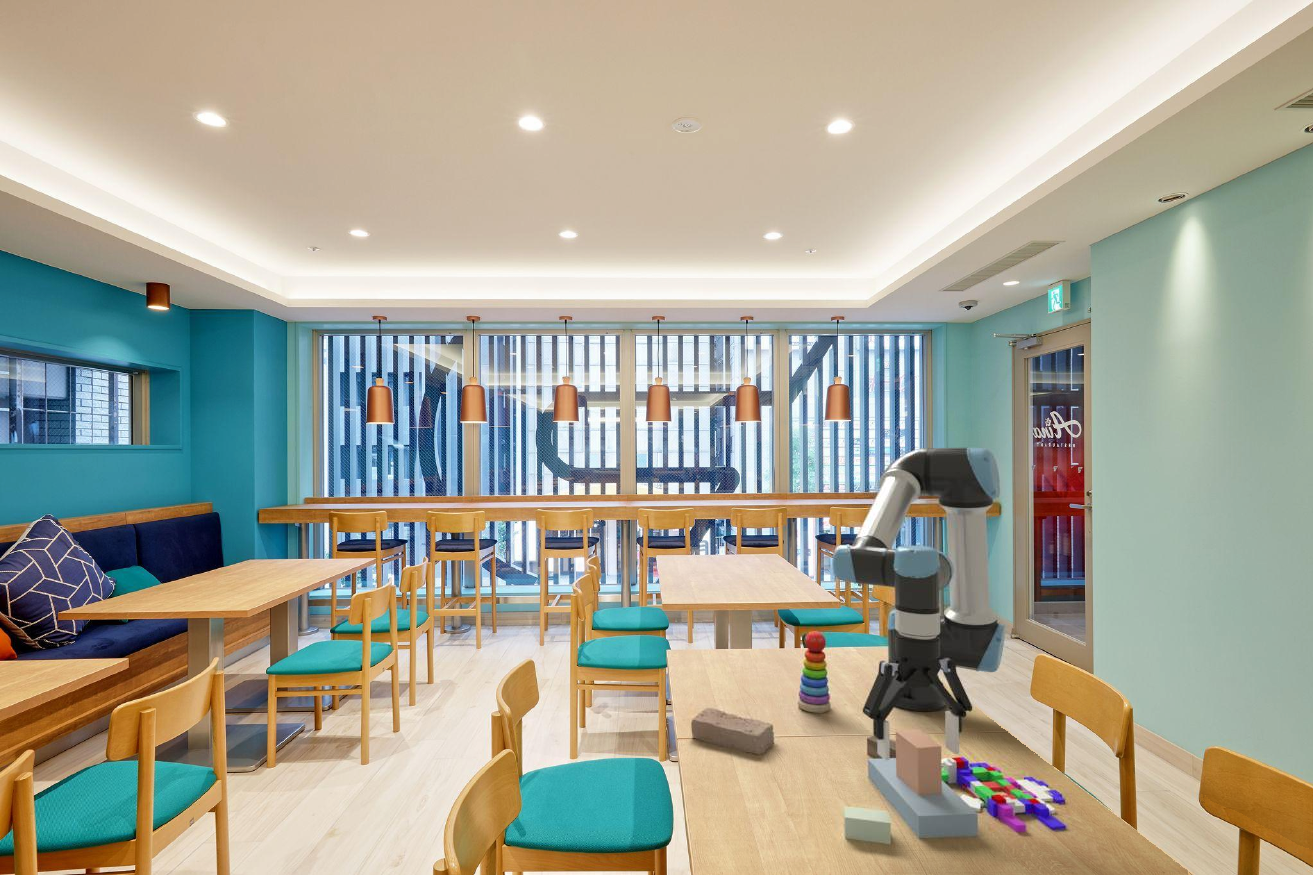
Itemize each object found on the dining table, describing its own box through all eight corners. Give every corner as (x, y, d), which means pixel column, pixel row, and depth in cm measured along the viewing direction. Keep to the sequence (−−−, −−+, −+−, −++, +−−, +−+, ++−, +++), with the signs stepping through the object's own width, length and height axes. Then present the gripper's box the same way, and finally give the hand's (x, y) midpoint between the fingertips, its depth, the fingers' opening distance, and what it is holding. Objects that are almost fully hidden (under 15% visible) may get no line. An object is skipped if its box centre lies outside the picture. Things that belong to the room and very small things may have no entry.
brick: (775, 742, 140) (775, 720, 140) (761, 757, 132) (760, 734, 133) (706, 726, 148) (706, 705, 148) (689, 740, 141) (689, 718, 141)
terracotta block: (918, 773, 118) (918, 729, 119) (941, 792, 111) (941, 746, 112) (896, 775, 117) (895, 731, 118) (918, 795, 111) (917, 748, 111)
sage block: (843, 827, 107) (843, 805, 107) (888, 833, 106) (888, 811, 106) (845, 839, 104) (844, 817, 104) (890, 845, 102) (890, 823, 102)
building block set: (1103, 829, 108) (1103, 801, 108) (991, 838, 105) (990, 810, 105) (1003, 760, 133) (1003, 737, 133) (910, 766, 130) (909, 743, 130)
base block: (918, 778, 125) (917, 757, 125) (977, 838, 105) (977, 813, 105) (868, 779, 124) (868, 758, 124) (918, 841, 104) (918, 815, 104)
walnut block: (877, 750, 136) (877, 734, 136) (907, 763, 130) (907, 746, 130) (867, 755, 134) (867, 738, 134) (897, 768, 128) (896, 750, 128)
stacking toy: (794, 711, 156) (794, 633, 157) (800, 699, 164) (800, 625, 165) (828, 716, 153) (828, 636, 154) (832, 704, 161) (832, 628, 162)
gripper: (964, 625, 122) (966, 739, 121) (842, 631, 117) (843, 750, 116) (993, 635, 114) (994, 757, 113) (864, 642, 109) (864, 769, 109)
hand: (918, 753), depth 115 cm, fingers open, 13 cm apart
